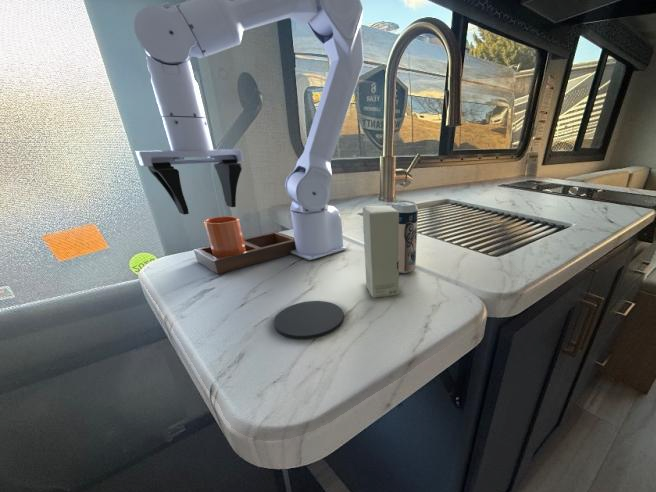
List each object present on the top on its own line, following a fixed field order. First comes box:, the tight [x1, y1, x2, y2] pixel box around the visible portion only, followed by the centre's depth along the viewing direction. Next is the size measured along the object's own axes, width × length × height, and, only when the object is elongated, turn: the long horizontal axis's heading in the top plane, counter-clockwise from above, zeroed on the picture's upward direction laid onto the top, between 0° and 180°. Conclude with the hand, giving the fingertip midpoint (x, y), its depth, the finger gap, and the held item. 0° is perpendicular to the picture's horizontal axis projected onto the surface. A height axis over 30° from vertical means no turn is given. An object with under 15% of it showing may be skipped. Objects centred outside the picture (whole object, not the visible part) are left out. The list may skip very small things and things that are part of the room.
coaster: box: [273, 300, 345, 340], centre depth 42 cm, size 9×9×1 cm
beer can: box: [390, 200, 419, 274], centre depth 55 cm, size 5×5×12 cm
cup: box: [203, 215, 246, 258], centre depth 58 cm, size 6×6×8 cm
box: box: [362, 205, 400, 298], centre depth 47 cm, size 5×4×13 cm
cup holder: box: [193, 231, 296, 275], centre depth 62 cm, size 9×17×2 cm, turn 140°
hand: (209, 209), depth 53 cm, fingers open, 7 cm apart
